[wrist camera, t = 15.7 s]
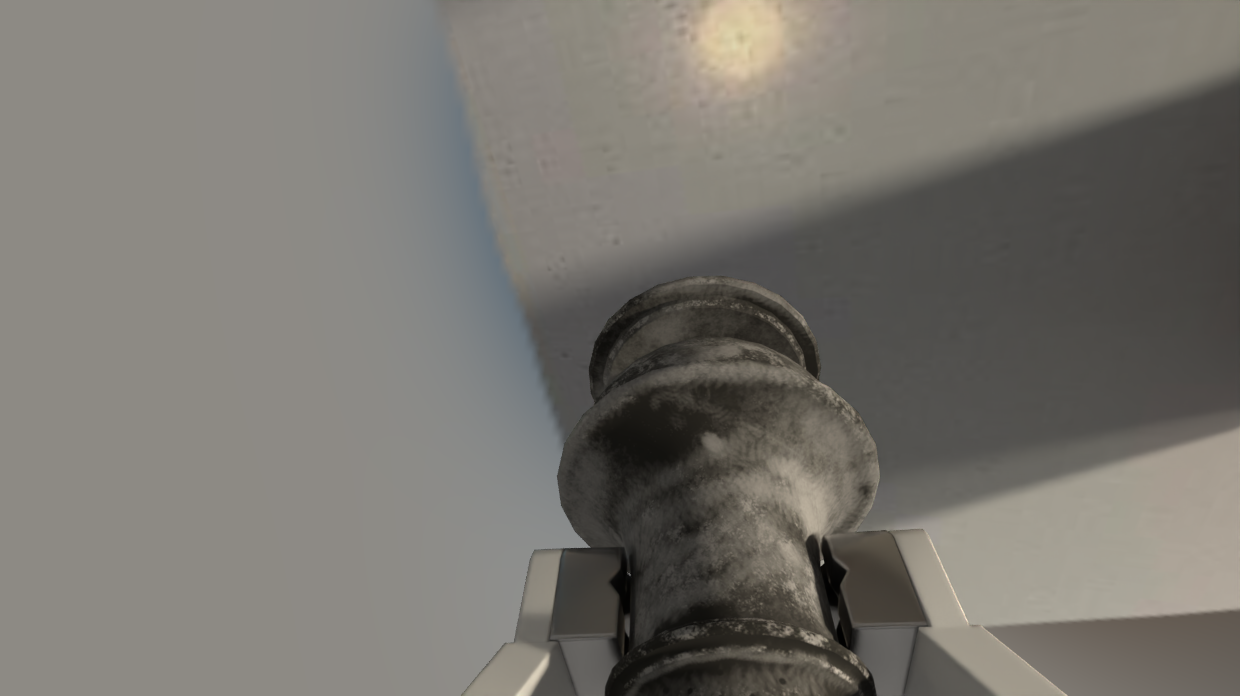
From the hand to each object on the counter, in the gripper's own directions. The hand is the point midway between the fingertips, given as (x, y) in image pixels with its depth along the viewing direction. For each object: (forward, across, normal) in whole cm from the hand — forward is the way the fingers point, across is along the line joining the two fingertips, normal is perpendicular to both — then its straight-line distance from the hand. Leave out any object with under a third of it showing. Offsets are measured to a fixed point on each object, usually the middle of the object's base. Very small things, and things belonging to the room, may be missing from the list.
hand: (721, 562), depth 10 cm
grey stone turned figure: (+5, 0, 0) cm, 5 cm away
